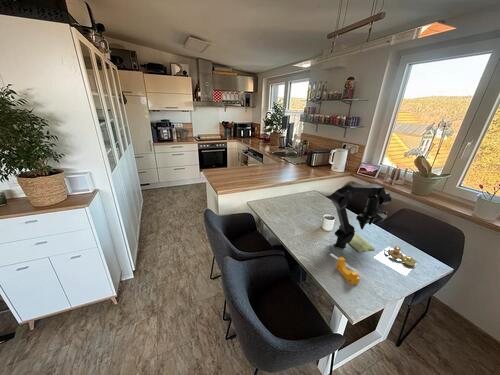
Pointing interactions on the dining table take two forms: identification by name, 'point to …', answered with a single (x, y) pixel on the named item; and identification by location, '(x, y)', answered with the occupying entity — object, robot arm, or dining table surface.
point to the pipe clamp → (347, 272)
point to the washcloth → (360, 244)
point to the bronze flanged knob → (395, 253)
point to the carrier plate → (397, 261)
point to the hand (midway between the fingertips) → (365, 226)
